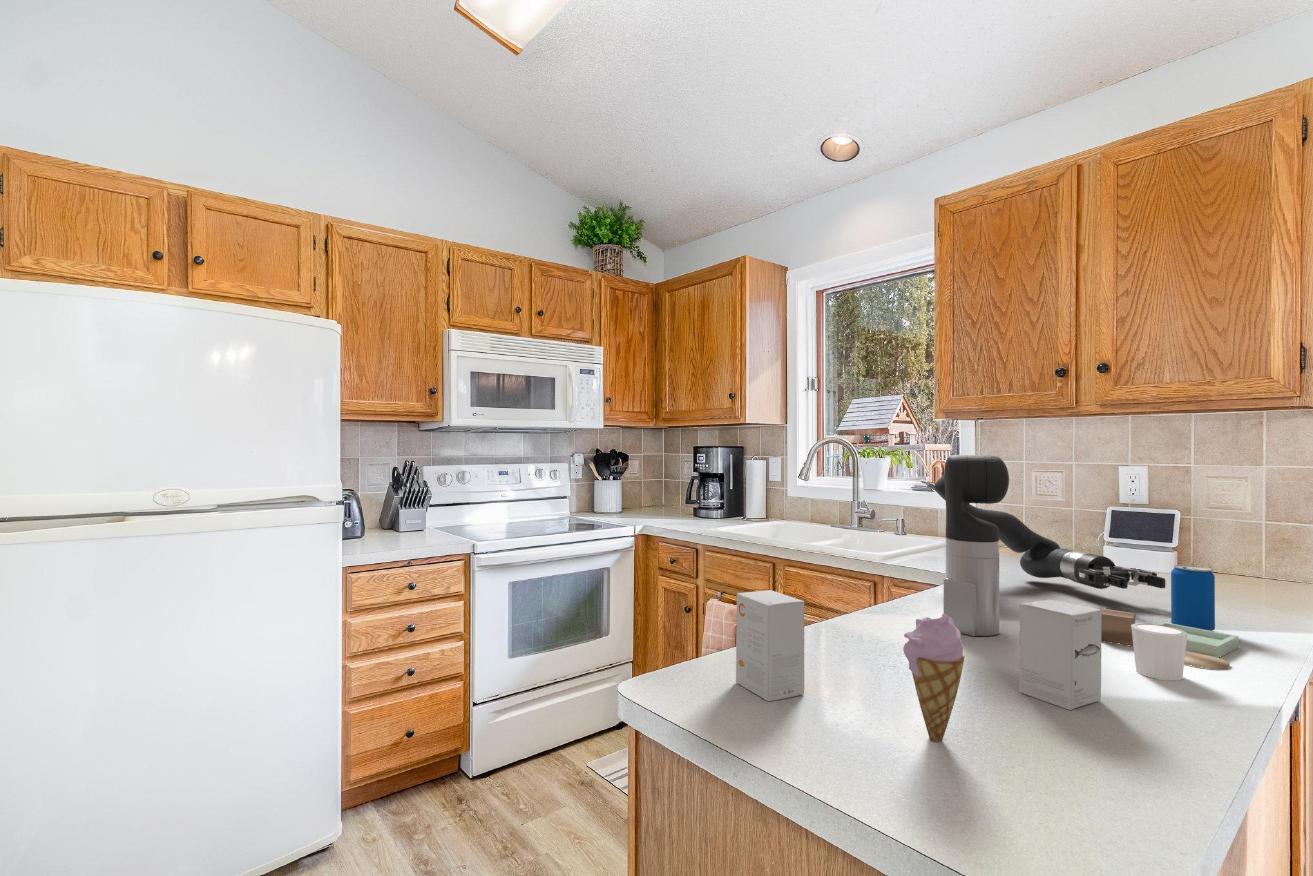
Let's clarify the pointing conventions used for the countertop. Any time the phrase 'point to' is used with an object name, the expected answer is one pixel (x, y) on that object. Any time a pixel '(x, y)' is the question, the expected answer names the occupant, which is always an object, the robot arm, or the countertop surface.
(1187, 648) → the tray
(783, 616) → the small box
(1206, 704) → the countertop surface
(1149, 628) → the white cup
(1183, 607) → the beverage can
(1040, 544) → the robot arm
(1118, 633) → the walnut block
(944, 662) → the ice cream cone
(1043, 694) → the supplement box
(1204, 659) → the cork coaster
